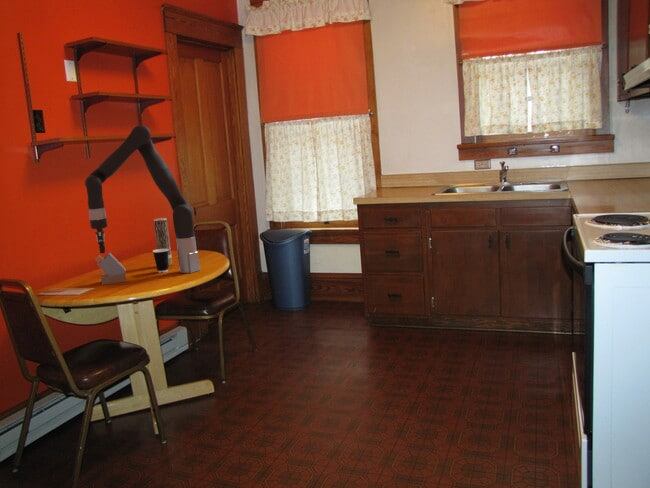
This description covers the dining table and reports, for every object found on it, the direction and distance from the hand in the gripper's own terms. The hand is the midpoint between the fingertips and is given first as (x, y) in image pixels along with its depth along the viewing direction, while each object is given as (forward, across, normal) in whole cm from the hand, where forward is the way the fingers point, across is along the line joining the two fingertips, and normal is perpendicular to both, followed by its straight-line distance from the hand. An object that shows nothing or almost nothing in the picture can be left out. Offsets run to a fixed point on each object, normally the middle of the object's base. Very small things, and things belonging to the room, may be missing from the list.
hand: (102, 251), depth 294 cm
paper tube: (+15, -23, +30) cm, 41 cm away
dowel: (+10, 0, +6) cm, 12 cm away
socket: (+15, 0, +3) cm, 15 cm away
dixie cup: (+15, -8, +27) cm, 32 cm away
